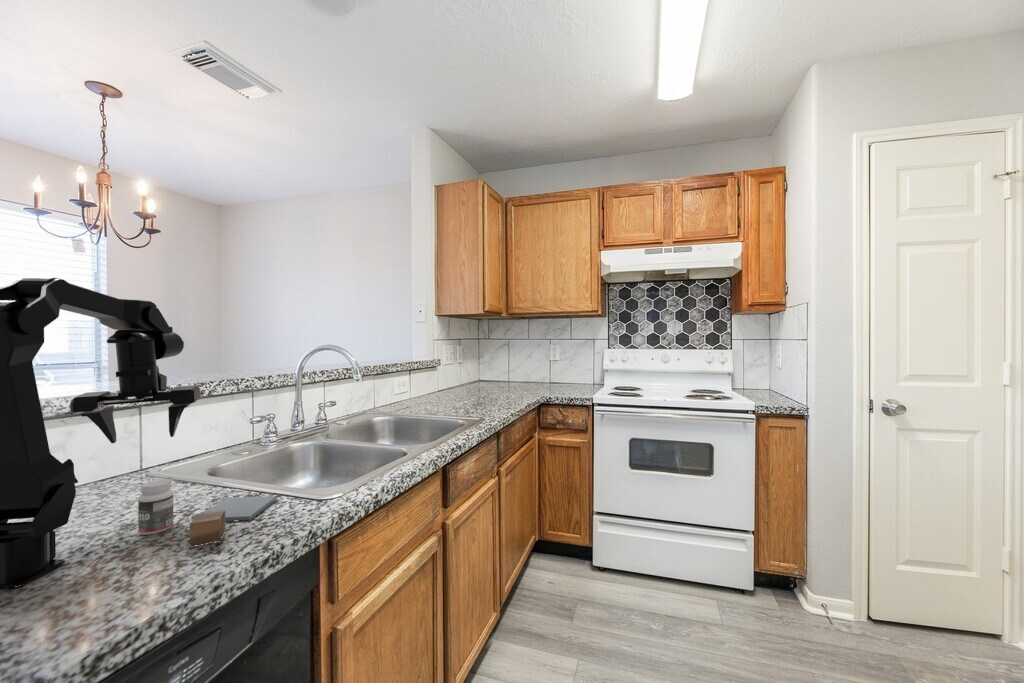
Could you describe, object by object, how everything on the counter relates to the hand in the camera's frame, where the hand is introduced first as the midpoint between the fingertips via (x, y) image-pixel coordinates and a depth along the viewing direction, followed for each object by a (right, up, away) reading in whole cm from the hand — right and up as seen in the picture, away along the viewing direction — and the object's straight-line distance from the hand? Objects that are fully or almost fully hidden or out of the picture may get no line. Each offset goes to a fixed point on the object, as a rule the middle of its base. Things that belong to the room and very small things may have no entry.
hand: (143, 439), depth 83 cm
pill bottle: (+11, -14, -10) cm, 20 cm away
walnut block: (+24, -14, -14) cm, 31 cm away
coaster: (+21, -14, -2) cm, 25 cm away
